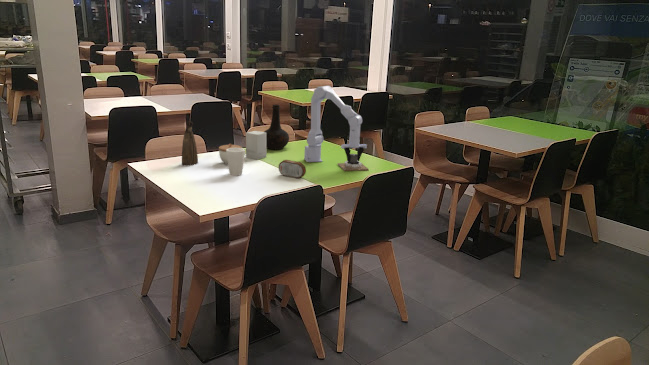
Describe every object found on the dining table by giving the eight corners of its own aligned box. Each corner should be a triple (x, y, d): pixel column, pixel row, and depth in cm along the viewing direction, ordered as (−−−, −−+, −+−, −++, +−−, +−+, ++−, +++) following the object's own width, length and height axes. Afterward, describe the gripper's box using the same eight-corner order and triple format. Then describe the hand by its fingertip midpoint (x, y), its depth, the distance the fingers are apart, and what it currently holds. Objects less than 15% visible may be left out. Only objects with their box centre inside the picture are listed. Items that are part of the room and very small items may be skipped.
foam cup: (229, 177, 245) (229, 152, 241) (224, 172, 252) (223, 148, 249) (247, 175, 249) (247, 151, 245) (241, 171, 257) (241, 147, 253)
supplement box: (267, 157, 288) (267, 132, 284) (257, 159, 281) (257, 134, 277) (255, 154, 293) (255, 130, 288) (245, 157, 285) (245, 132, 281)
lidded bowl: (214, 163, 268) (214, 144, 265) (227, 159, 279) (226, 140, 276) (234, 167, 264) (233, 147, 261) (246, 162, 275) (246, 143, 272)
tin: (305, 178, 249) (306, 162, 246) (303, 179, 246) (303, 163, 244) (280, 173, 255) (280, 158, 252) (277, 175, 252) (277, 159, 250)
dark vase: (257, 149, 305) (257, 105, 297) (265, 144, 322) (265, 102, 313) (285, 152, 302) (285, 107, 294) (291, 146, 319) (292, 103, 311)
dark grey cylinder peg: (350, 166, 270) (350, 155, 268) (347, 164, 274) (347, 153, 273) (358, 166, 271) (359, 155, 269) (355, 163, 276) (356, 153, 274)
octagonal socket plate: (344, 171, 265) (344, 165, 264) (337, 164, 278) (337, 159, 277) (368, 170, 268) (369, 165, 268) (360, 163, 281) (360, 158, 280)
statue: (194, 166, 262) (190, 120, 255) (180, 166, 262) (176, 120, 255) (199, 162, 270) (195, 118, 263) (186, 162, 270) (182, 117, 264)
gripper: (344, 138, 262) (342, 162, 266) (369, 138, 266) (367, 162, 270) (340, 136, 269) (339, 159, 273) (365, 135, 273) (363, 159, 277)
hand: (353, 160), depth 272 cm, fingers open, 5 cm apart
